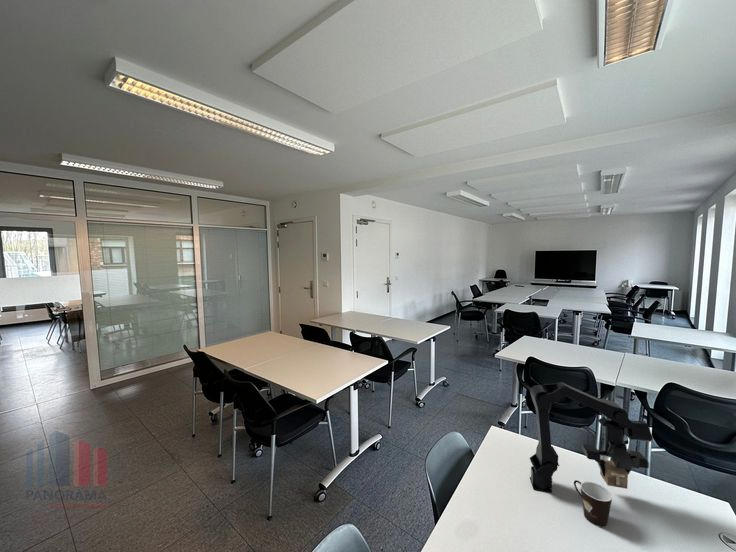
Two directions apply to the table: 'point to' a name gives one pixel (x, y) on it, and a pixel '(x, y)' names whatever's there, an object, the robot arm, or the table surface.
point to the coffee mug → (595, 502)
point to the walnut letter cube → (615, 475)
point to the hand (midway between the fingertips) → (613, 477)
